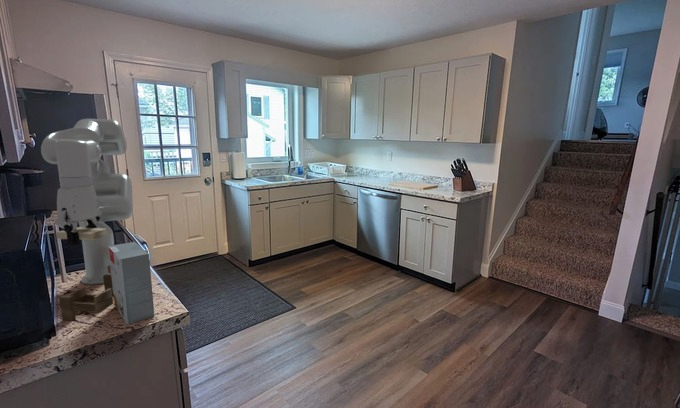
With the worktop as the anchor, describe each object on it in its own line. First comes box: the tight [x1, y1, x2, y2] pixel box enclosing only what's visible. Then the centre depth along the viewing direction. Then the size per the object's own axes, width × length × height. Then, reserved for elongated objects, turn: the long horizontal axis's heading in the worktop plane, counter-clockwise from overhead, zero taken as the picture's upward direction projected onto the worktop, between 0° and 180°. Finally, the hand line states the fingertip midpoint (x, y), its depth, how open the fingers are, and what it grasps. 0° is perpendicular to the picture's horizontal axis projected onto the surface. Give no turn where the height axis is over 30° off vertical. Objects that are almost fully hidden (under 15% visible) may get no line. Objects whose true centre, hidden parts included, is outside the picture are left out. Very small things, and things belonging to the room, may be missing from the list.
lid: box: [55, 226, 108, 241], centre depth 101 cm, size 6×11×2 cm, turn 85°
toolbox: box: [58, 274, 114, 322], centre depth 104 cm, size 17×10×7 cm, turn 175°
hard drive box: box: [108, 241, 155, 325], centre depth 101 cm, size 16×8×20 cm, turn 45°
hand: (83, 241), depth 101 cm, fingers closed on lid, 6 cm apart
